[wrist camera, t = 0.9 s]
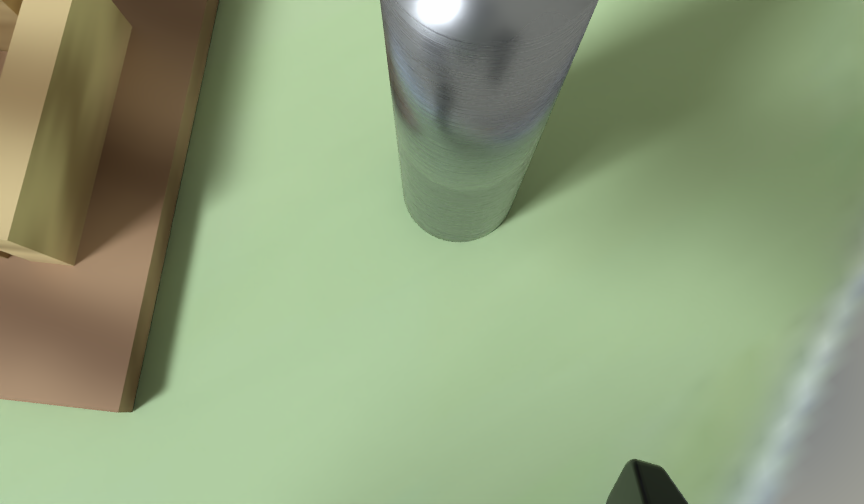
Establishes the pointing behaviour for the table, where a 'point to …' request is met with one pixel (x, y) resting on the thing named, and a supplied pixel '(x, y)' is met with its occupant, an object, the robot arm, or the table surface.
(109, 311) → the socket board
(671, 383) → the table surface
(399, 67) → the metal pin
